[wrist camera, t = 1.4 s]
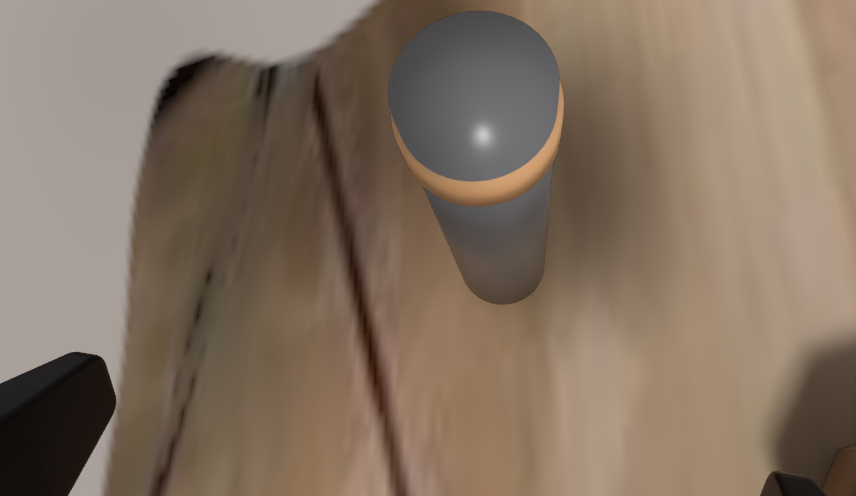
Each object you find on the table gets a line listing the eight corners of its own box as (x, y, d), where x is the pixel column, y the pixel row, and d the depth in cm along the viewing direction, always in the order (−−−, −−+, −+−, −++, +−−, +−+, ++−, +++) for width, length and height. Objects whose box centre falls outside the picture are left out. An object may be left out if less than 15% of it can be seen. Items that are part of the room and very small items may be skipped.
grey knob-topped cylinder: (521, 323, 21) (511, 202, 10) (442, 281, 22) (349, 125, 11) (563, 245, 22) (598, 44, 11) (484, 207, 23) (437, -18, 11)
